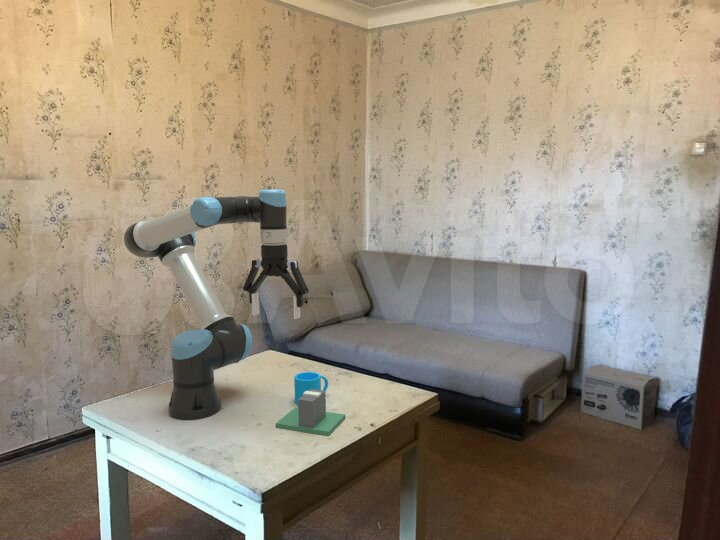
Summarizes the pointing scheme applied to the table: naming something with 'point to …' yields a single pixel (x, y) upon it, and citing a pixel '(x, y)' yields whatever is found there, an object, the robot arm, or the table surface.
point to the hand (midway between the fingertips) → (276, 316)
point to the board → (321, 428)
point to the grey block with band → (312, 408)
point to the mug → (307, 383)
